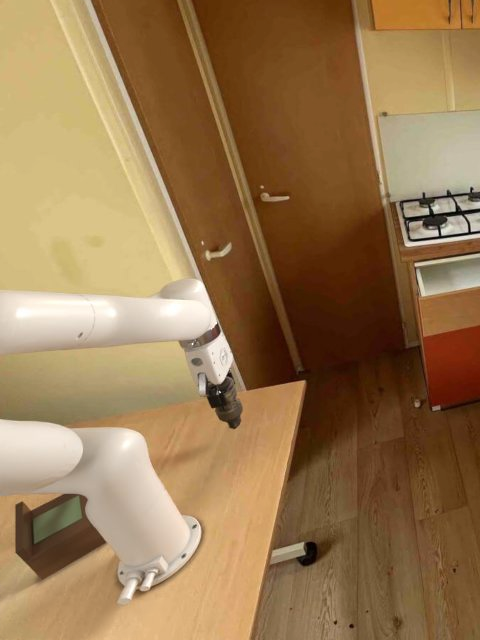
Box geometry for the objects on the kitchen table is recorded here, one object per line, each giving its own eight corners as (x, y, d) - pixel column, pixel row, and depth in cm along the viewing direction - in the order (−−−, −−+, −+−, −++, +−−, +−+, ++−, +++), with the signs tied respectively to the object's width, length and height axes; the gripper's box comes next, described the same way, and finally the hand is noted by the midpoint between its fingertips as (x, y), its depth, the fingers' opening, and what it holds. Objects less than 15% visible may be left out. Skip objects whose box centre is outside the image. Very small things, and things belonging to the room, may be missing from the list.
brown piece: (99, 500, 89) (79, 472, 85) (107, 541, 82) (85, 514, 78) (39, 532, 83) (15, 504, 79) (42, 580, 76) (15, 552, 72)
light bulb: (218, 428, 102) (198, 381, 96) (241, 413, 106) (223, 367, 100) (230, 439, 100) (210, 391, 93) (253, 423, 104) (236, 376, 97)
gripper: (205, 355, 84) (231, 420, 92) (230, 309, 99) (251, 369, 107) (161, 362, 82) (192, 428, 90) (194, 314, 97) (217, 374, 105)
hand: (224, 395), depth 99 cm, fingers closed on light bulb, 5 cm apart
